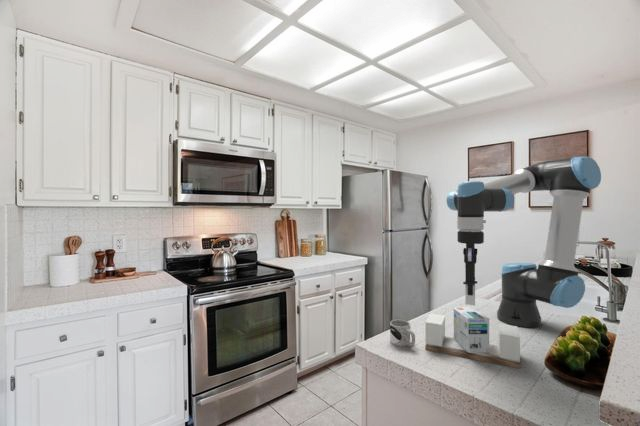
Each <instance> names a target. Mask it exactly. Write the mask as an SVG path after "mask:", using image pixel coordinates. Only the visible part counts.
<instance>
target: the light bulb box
mask: <svg viewBox="0 0 640 426" xmlns="http://www.w3.org/2000/svg"><path fill="white" fill-rule="evenodd" d="M453 338H454V339H455V340H456V341H457V342H458V343H459V344H460V345H461V346H462V347H463V348H464V349H465V350H466V351H467V352H468V353H489V344H490V318H489V317H487V316H486V315H484V314H483V313H481V312H479V311H478V310H476V309H475V308H473V307H472V306H471V307H453Z"/></svg>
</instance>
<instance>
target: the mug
mask: <svg viewBox="0 0 640 426" xmlns="http://www.w3.org/2000/svg"><path fill="white" fill-rule="evenodd" d="M389 328H390V329H389V330H390V331H389V337H390V338H389V342H390V344H391V345H392V346H395V347H400V348H406V347H408V346H409V347H415V345H416V334H415V332H413V331H412V329H411V323H410V322H409V321H408V320H404V319H392V320H391V321H390V322H389Z"/></svg>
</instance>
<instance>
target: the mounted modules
mask: <svg viewBox="0 0 640 426" xmlns="http://www.w3.org/2000/svg"><path fill="white" fill-rule="evenodd" d="M518 327H519V326H515V325H511V324H505V323H504V324H503V323H498V346H499V354H500V358H505V359H510V360H515V361H520V362H521V336H520V332H519V328H518ZM445 337H446V316H445V315H443V314H437V313H436V314H435V313H429V315H428V317H427V318H426V321H425V345H426V344H432V345H437V346H442V345H443V341H444V338H445Z"/></svg>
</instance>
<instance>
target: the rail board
mask: <svg viewBox="0 0 640 426" xmlns="http://www.w3.org/2000/svg"><path fill="white" fill-rule="evenodd" d="M426 350H427V351H431V352H435V353H442V354H447V355H450V356H456V357H462V358H466V359H470V360H471V359H472V360H476V361H482V362H487V363H492V364H496V365H500V366H501V365H502V366H505V367H511V368H516V369H521V360H520V361H515V360H510V359H505V358H500V354H499V345H495V344H490V343H489V353H468V352H467V351H466V350H465V349H464V348H463V347H462V346H461V345H460V344H459V343H458V342H457V341H456V340H455V339H454V337H449V336H445V338H444V341H443V345H442V346H437V345H432V344H426V343H425V351H426Z"/></svg>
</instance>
